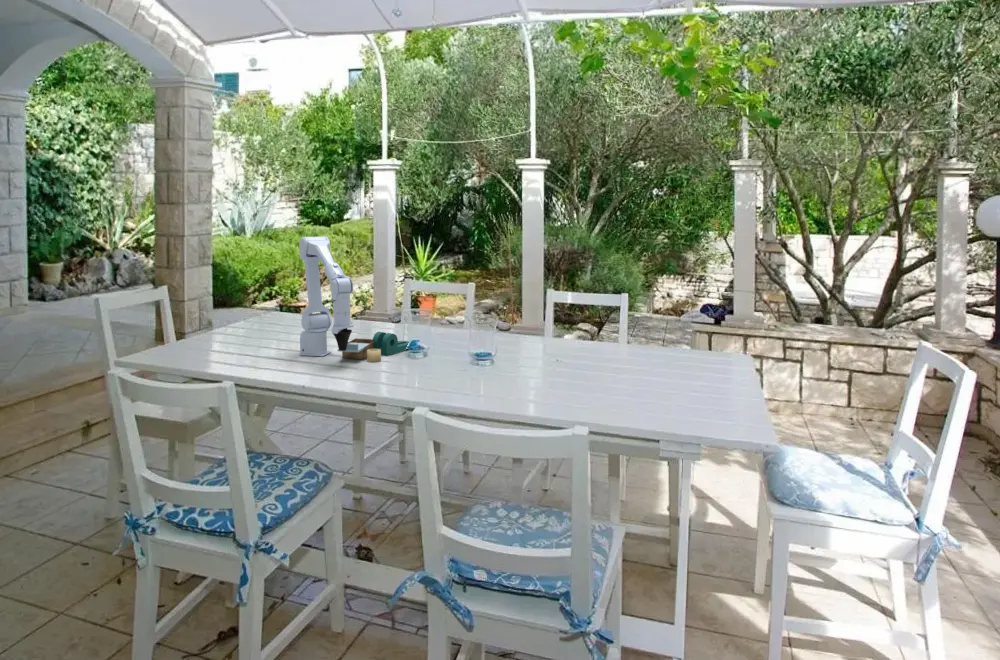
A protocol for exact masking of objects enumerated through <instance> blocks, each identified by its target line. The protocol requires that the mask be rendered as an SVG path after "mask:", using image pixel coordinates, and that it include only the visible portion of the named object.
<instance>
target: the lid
mask: <svg viewBox="0 0 1000 660" xmlns="http://www.w3.org/2000/svg"><path fill="white" fill-rule="evenodd" d="M367 345H368V343H349V344H347V349H346V350H345V351H341V353H342V352H360V351H362V350H363V349H365V346H367ZM337 352H340V351H339V348H337Z"/></svg>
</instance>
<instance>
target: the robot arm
mask: <svg viewBox="0 0 1000 660" xmlns="http://www.w3.org/2000/svg"><path fill="white" fill-rule="evenodd" d="M298 248H299V249H298V251H299V258H300V260H302V261H303V262H304V271H305V282H306V291H307V301H308V302H307V304H308V305H307V306H306V307H304V309H303V310H302V311H301V321H300V322H301V327H302V329H303V330H302V331H301V332H300V336H299V352H300V353H299V355H298V356H307V357H308V356H310V357H325V356H326V355H329V354H330V353H332V350H328V341H327V340H328V337H327V336H328V335H327V333H328V332H329V329H330V328H331V326H332V328H331V334H332V335H333V336H334V339H335V341H336V344H337V347H338V348H337V349H339V351H338V352H342V351H345V350H346V349H347V344H348V342H349V339H350V336H351V334H352V333H353V330H352V329H350V328H354V324H353V321H351V294H352V293H353V290H354V283H353V280H352V279H351V277H350V276H348V275H346V274H345V273H344V271H343V269H342V268H341V266H340V265H339V263H337V262H335V260H334V258H333V256H332V254H331V251H330V250H331V241H330V239H329V238H328V236H326V235H323V236H301V238H300V239H299V243H298ZM319 262H321V263H322V264H323V266H324V270H323V272H324V274H325V276H326V279H328V281H329V289H330V294H331V299H332V300H333V302H332V303H333V305H332V306H333V325H332V317H331V314H330V309H329V308H328V307H326V306H325V305H324V304H323V299H322V288H321V280H320V279H321V278H320V269H319Z"/></svg>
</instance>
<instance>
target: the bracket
mask: <svg viewBox="0 0 1000 660" xmlns="http://www.w3.org/2000/svg"><path fill="white" fill-rule="evenodd" d="M372 339H373V342H374V349H380V350H381V356H390V355H395V354H398V353H402V352H405V349H406V347H407V345H408V343H409V342H410V341H408V340H400V341H399V340H398V336H397V335H396V333H390V332H385V331H384V332H383V331H377V332H375V334H374V335H373V336H372Z"/></svg>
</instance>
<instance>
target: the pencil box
mask: <svg viewBox="0 0 1000 660" xmlns="http://www.w3.org/2000/svg"><path fill="white" fill-rule="evenodd" d="M349 343H368V345H367V346H365V349H363V350H362V351H360V352H342V351H341V353H342V354H341V355H342V359H348V360H349V359H350V360H351V359H353V360H367V350H368V349H374V342H373V338H357V337H356V338H353V339H352V340H350V341H348V344H349Z"/></svg>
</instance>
